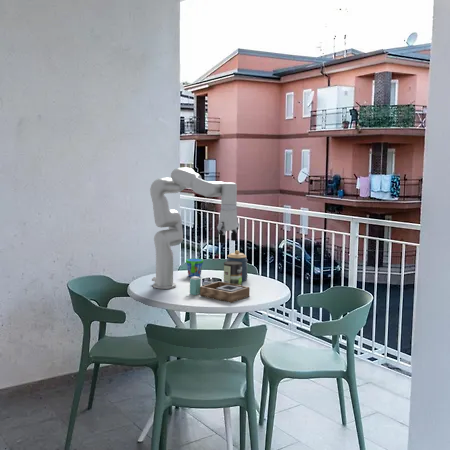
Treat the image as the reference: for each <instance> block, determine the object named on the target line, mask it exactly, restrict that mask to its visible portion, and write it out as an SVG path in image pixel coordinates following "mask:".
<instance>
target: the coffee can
mask: <svg viewBox="0 0 450 450" xmlns="http://www.w3.org/2000/svg"><path fill="white" fill-rule="evenodd" d="M223 282H225V283H230V284H236V285H241V286H243V285H242V284H243V283H242V282H243V281H242V262H238V261H224V262H223Z"/></svg>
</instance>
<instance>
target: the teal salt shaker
mask: <svg viewBox="0 0 450 450" xmlns="http://www.w3.org/2000/svg"><path fill="white" fill-rule="evenodd" d="M201 286H202V285H201V276H199V277H197V276H194V277H190V279H189V294H190V295H193V296H197V295H200V287H201Z"/></svg>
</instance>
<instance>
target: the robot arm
mask: <svg viewBox="0 0 450 450" xmlns="http://www.w3.org/2000/svg"><path fill="white" fill-rule="evenodd" d="M237 185H238V184H237V183H236V182H224V181H207V180H204V179H202V175H200V174H199V173H197V172H195V170H194V169H193V168H191V167H177V168H174V169H172V171H171V173H170V177H160V178H157V179H155V180H153V182H152V183H151V184H150V188H149V192H150V199H151V202H152V211H153V218H154V223H155V226H156V227H157V228H168V229H162V230H159V231H157V232H156V233H155V234H154V237H153V241H154V248H155V276H152V277H153V278H151V281H152V282H153V284H152V287H153V288H155V289H159V290H169V289H173V288H174V289H175V288H176V286H177V284H176V283H175V282H174V253H173V250H172V248H171V247H175V246H179V245H181V243H182V242H183V239H184V230H183V223H182V216H181V214H180V213H179V211H178V210H176V209H170V207H169V201H168V199H167V197H166V196H165V195H166V194H178V193H181V192H182V191H183V190H185V189H187V188H188V189H190V190H192V191H193V192H194V193H196V194H197V195H201V196H204V197H208V198H213V197H215V198H216V197H217V198H218V197H221V200H220V201H221V203H220V204H221V206H220V209H221V210H220V212H219V217H218V218H219V219H218V225H217V226H216V229H217V233H218V235H219V243H220V244H226V233H227V232H229V231H231V235H230V240H231V241H232V242H233V241H234V242H236V241H237V240H238V232H239V231H238V230H239V228H240V223H239V222H238V212H237V203H238V202H237V199H238V196H237V194H238V193H237V192H238V191H237V190H238V189H237V187H238V186H237Z"/></svg>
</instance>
